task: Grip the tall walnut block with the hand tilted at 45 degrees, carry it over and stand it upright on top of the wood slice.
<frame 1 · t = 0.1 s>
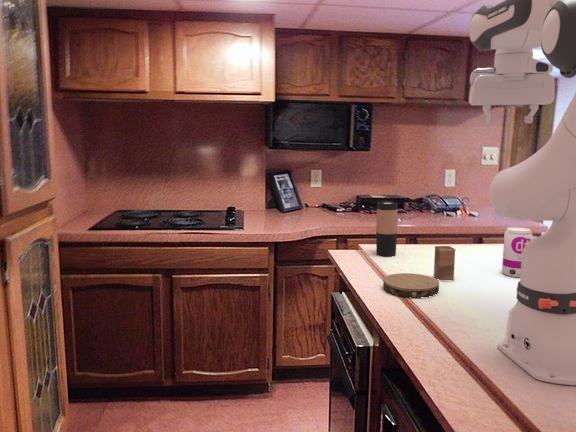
hand: (509, 123, 129), 48 cm above the counter, tool pointing down, fingers open, 8 cm apart
travel mug: (386, 255, 190), on the counter
wood slice: (410, 291, 148), on the counter
supplement can: (515, 275, 162), on the counter
walnut block: (443, 278, 159), on the counter
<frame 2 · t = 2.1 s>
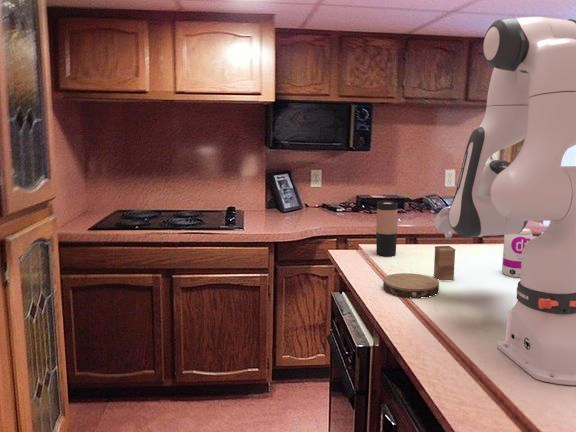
hand: (463, 235, 145), 16 cm above the counter, tool tilted 45°, fingers open, 8 cm apart
nothing on the counter moved.
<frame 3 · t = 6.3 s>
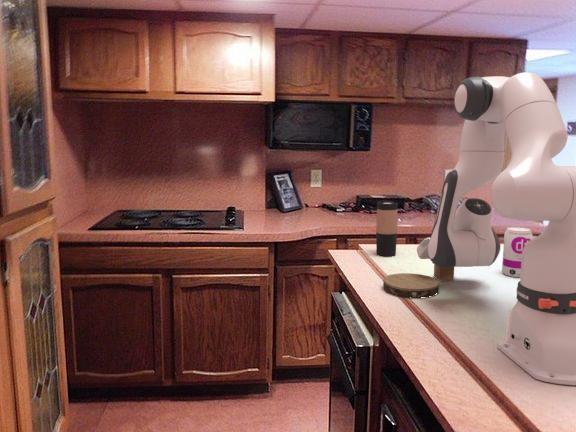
hand: (443, 261, 158), 5 cm above the counter, tool tilted 45°, fingers closed on walnut block, 5 cm apart
walnut block: (443, 278, 159), on the counter, touching gripper
everything else where it was.
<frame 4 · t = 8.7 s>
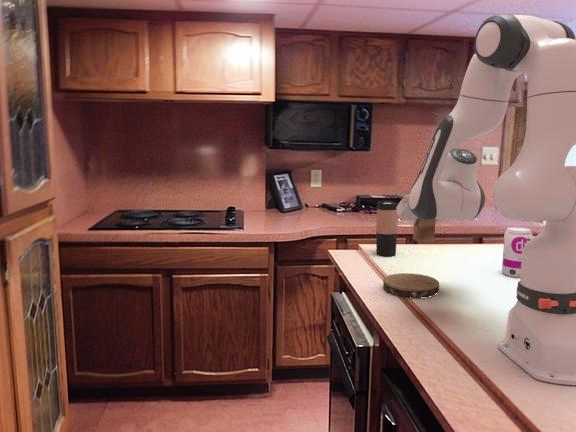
hand: (423, 222, 150), 19 cm above the counter, tool tilted 45°, fingers closed on walnut block, 5 cm apart
walnut block: (423, 240, 150), point 14 cm above the counter, touching gripper
everything else where it was.
when the fingers open (10 cm above the counter, at t = 11.4 s): walnut block drops 2 cm, point 3 cm above the counter.
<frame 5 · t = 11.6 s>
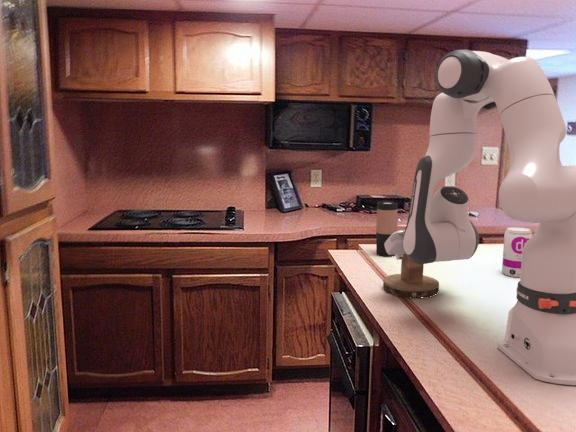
hand: (410, 256, 147), 10 cm above the counter, tool tilted 45°, fingers open, 7 cm apart
walnut block: (411, 281, 147), point 3 cm above the counter
everything else where it was.
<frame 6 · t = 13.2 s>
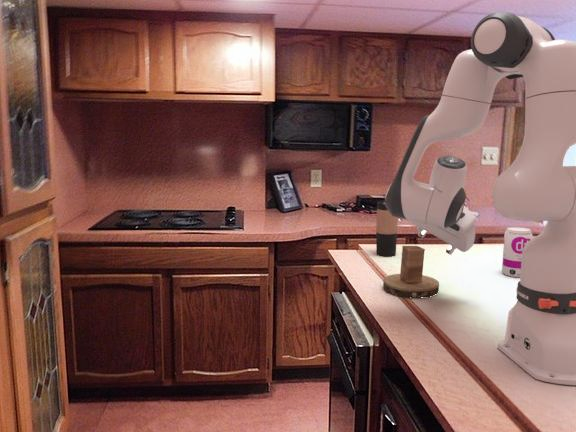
hand: (435, 244, 144), 14 cm above the counter, tool tilted 35°, fingers open, 8 cm apart
wood slice: (410, 291, 148), on the counter, touching walnut block
walnut block: (410, 280, 148), point 3 cm above the counter, touching wood slice
everything else where it was.
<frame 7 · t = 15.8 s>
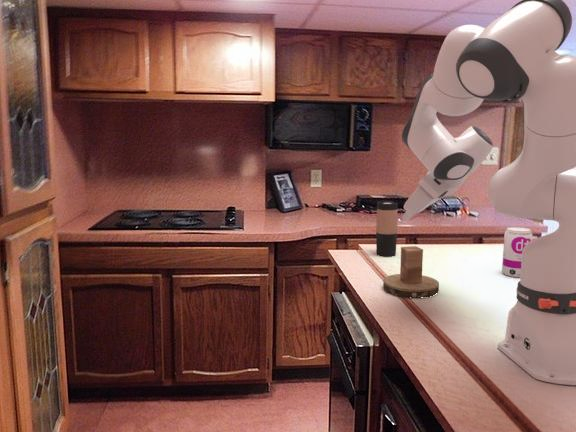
hand: (412, 214, 141), 23 cm above the counter, tool tilted 40°, fingers open, 8 cm apart
nothing on the counter moved.
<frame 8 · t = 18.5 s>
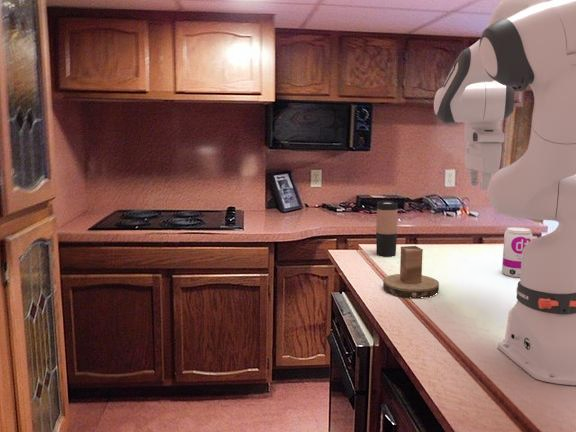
hand: (479, 187, 134), 31 cm above the counter, tool pointing down, fingers open, 8 cm apart
nothing on the counter moved.
at the end: walnut block inside the target area on the wood slice (0.1 cm from its centre), point 3.2 cm above the wood slice's base; walnut block tilted 0°; the gripper is holding nothing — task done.
